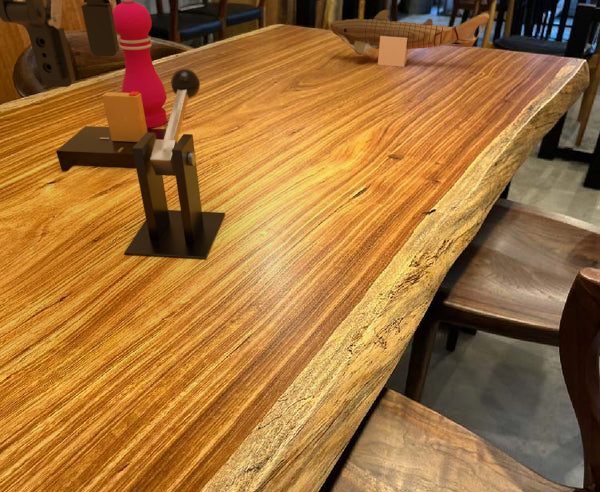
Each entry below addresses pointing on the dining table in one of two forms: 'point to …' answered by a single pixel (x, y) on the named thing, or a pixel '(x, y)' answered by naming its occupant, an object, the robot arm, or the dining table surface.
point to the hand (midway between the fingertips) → (84, 68)
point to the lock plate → (99, 149)
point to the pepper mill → (140, 60)
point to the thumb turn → (125, 116)
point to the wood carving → (403, 35)
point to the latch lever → (174, 121)
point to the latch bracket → (172, 223)
